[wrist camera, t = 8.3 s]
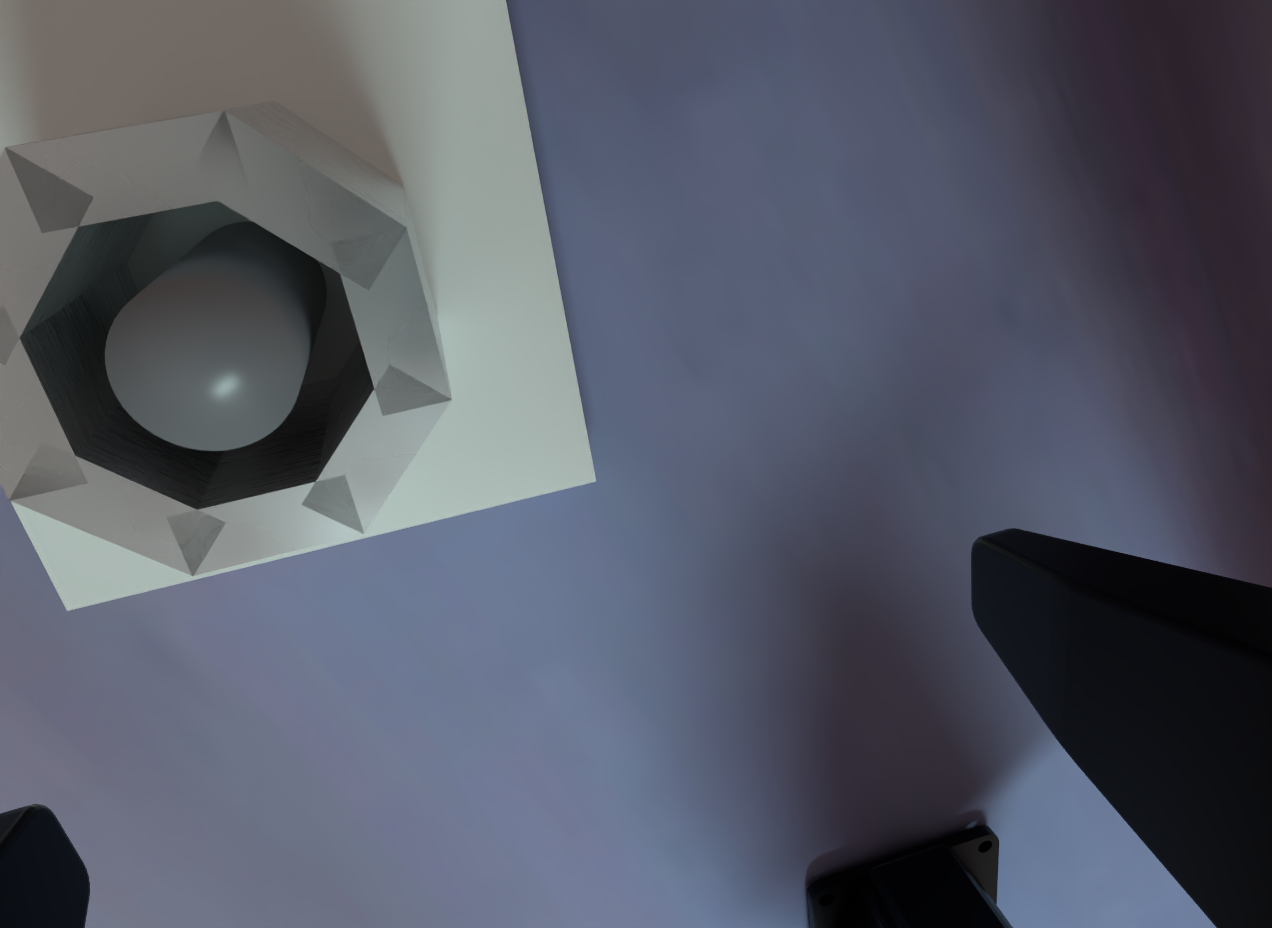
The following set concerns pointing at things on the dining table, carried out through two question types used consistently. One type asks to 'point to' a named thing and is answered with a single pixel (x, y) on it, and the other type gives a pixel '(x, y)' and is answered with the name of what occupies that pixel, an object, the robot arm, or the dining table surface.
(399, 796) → the dining table surface
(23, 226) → the grey hollow octagonal cylinder
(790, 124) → the dining table surface
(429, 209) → the post fixture
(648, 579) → the dining table surface
